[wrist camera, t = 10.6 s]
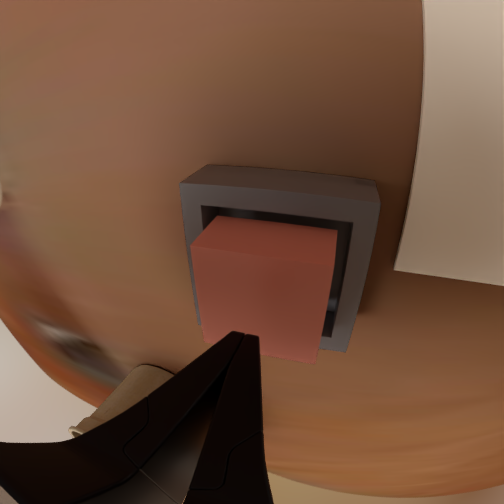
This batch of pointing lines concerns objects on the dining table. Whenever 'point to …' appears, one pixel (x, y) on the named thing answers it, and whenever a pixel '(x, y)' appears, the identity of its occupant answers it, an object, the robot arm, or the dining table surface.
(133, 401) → the flower pot
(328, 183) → the button housing
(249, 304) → the button
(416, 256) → the paper sheet
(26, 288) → the dining table surface
